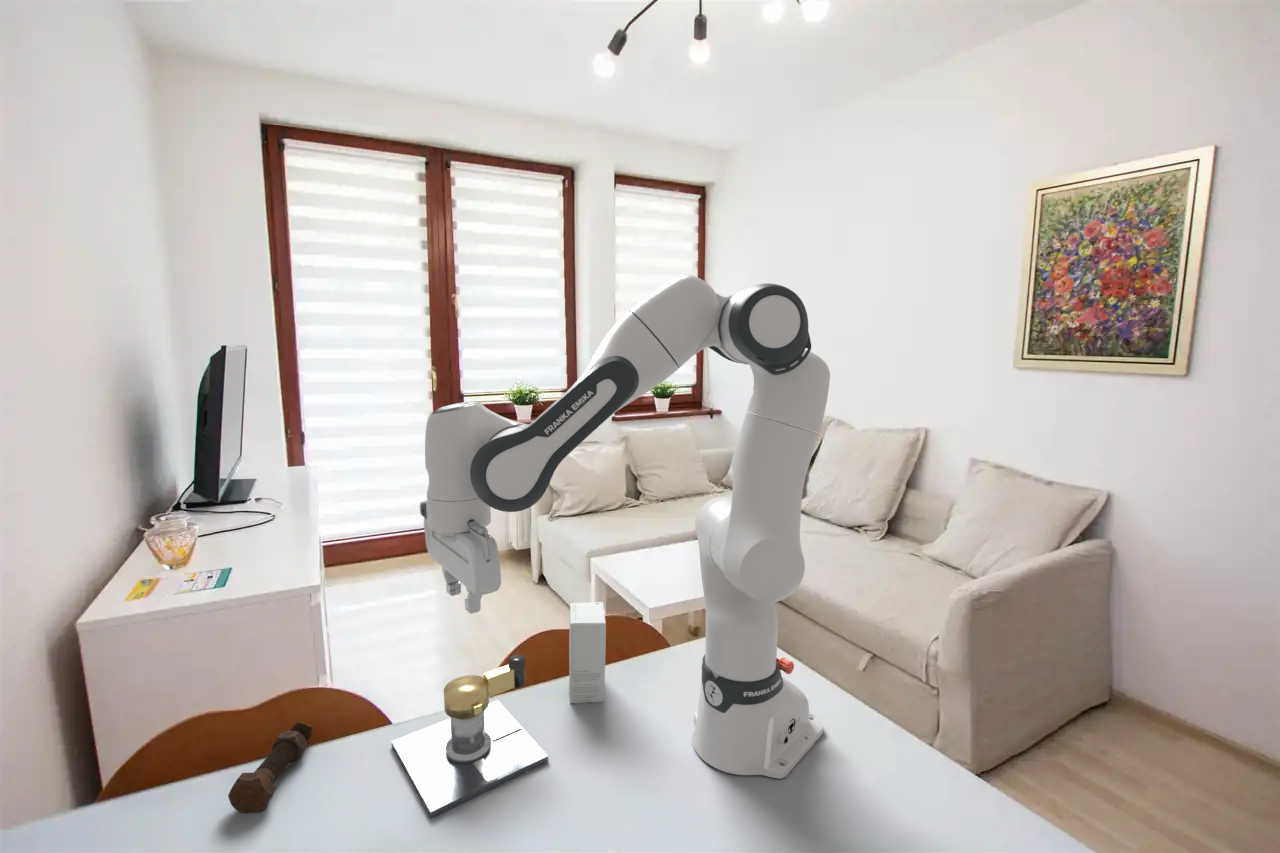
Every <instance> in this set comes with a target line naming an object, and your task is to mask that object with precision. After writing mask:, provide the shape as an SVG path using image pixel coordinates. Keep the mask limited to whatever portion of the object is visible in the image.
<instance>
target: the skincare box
mask: <svg viewBox="0 0 1280 853" xmlns="http://www.w3.org/2000/svg"><path fill="white" fill-rule="evenodd" d="M569 605H570V606H569V607H570V608H569V646H568V647H569V650H568V652H569V656H568V658H569V660H568V661H569V662H568V663H569V664H568V666H569V672H568V673H569V704H570V703H577V704H587V703H586V702H594V703H604V702H605V685H606V684H605V680H606V679H605V678H606V649H607V648H606V644H607V642H606V641H607V638H606V637H607V636H606V635H607V623H606V610H605V607H604V602H603V601H597V602H595V601H593V602H592V601H591V602H590V601H589V602H570V604H569ZM583 702H585V703H583Z"/></svg>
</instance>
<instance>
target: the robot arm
mask: <svg viewBox="0 0 1280 853" xmlns="http://www.w3.org/2000/svg"><path fill="white" fill-rule="evenodd" d="M808 317H809V316H808V313H807V309H806V306H805V304H804V302H803V300H802V299H801V297H800V296H799V295H798V294H797V293H795V292H794V291H793V290H792V289H790V288H788V287H787V286H783V285H781V284H776V283H759V284H756V285H753V286H751V287H746V288H744V289H742V290H738V291H736V292H735V293H734V294H731V295H728V296H724V295H721V294H719V293H716V291H715V290H714V289H713V287H712V286H711V285H710V284H708V282H706V281H705V280H704V279H701V278H700V277H698V276H696V275H692V274H683V275H679V276H677V277H675V278H673V279H671V280H670V281H668V282H667V283H664V284H663V285H661V286H660V287H658V288H656V289H655V290H653V291H652V292H651V293H649V294H648V295H646V296H645V297H644V298H642V299H641V300H640V301H638V302H637V303H636V304H635V305H634V306H633V307H631V308H630V309H629V310H628V311H627V312H626V313H624V314H623V316H621V318H619V319H618V320H617V321H616V322H615V323H614V324H613V325H612V326H611V328H610V329H609V330H608V332H606V334H605V335H604V336H603V338H602V339H601V340H600V342H599V343H598V344H597V346H596V347H595V348H594V351H593V354H592V356H591V357H590V359H589V362H588V363H587V365H586V367H585V368H584V370H583V372H582V373H581V374H580V376H579V378H578V379H577V380H576V381H575V382H574V384H572V386H570V388H568V390H567V391H565V392H564V393H563V394H562V395H561V396H560V397H559V398H558V399H556V400H555V401H554V402H553V403H552V404H550V406H549V407H547V408H546V409H545V410H543V412H542V413H541V414H540V415H538V416H537V417H536V418H535V419H534V420H533V421H532V422H530V423H529V424H528V423H523V422H519V421H517V420H514V419H513V420H512V419H509V418H508V417H504V416H502V415H500V414H498V413H496V412H494V411H492V410H491V409H489V408H487V407H486V406H485V405H484V404H483V403H481V402H478V401H462V402H456V403H452V404H448V405H444V406H441V407H439V408H438V409H436V410H435V411H433V412H432V413H430V415H429V417H428V418H427V421H426V426H425V427H426V428H425V429H426V430H425V436H424V438H425V439H424V459H425V460H424V461H425V463H424V464H425V469H426V471H427V474H428V487H427V491H426V500H423V501H420V502H419V514H420V516H422V517H423V529H424V537H425V544H426V545H425V546H426V550H427V552H428V555H429V557H430V558H431V559H432V560H433V561H435V562H436V563H437V564H438V565H440V566H441V570H442V574H443V578H444V581H445V587H446V593H447V594H448V595H449V596H450V597H454V596H458V595H461V592H462V585H463V586H464V587H466V588H465V590H466V592H467V598H465V599H464V605H465V606H464V608H465V610H466V611H467V612H468V613H469V614H475V613H476V614H477V613H478V612H480V611H481V608H482V607H481V606H482V605H481V604H482V603H481V600H482V597H483V595H488V594H492V593H494V592H497V591H499V589H500V588H501V586H502V585H501V584H502V575H501V574H502V572H501V564H500V562H501V561H500V554H499V547H498V543H497V541H496V539H495V538H494V537H493V536H492V535H491V534H489V530H488V528H487V526H489V525H490V524H491V523H492V512H491V510H492V509H495V510H497V511H500V512H505V513H506V512H507V513H516V512H521V511H525V510H527V509H529V508H532V507H533V506H534V505H536V504H537V503H538V502H539V501H540V500H541V498H542V497H543V496H544V494H545V493H546V492H547V489H548V486H549V485H550V482H551V480H552V478H553V476H554V473H555V472H556V470H557V468H558V466H559V465H560V463H562V461H563V460H564V459H565V458H566V457H567V456H568V455H569V454H571V452H573V451H574V450H575V449H576V448H577V447H579V445H580V444H582V442H583V441H585V439H587V438H588V437H589V436H590V435H591V434H593V432H595V430H597V429H598V428H599V427H600V426H601V425H602V424H603V423H604V422H606V421H607V420H608V419H609V418H610V417H611V416H613V415H614V414H615V413H616V412H618V411H620V410H621V409H622V408H624V407H626V406H627V405H629V404H631V403H632V402H633V401H635V400H637V399H639V398H640V397H642V396H644V395H645V394H647V393H649V392H650V391H651V390H654V388H656V387H657V386H659V385H660V384H661V383H663V382H664V381H666V380H667V379H669V377H671V376H672V375H673V374H675V372H677V371H678V370H679V369H680V368H681V367H682V366H684V364H685V363H687V362H688V361H689V360H690V359H691V358H692V357H693V356H694V355H696V354H698V353H699V352H701V351H703V350H705V349H706V348H709V349H710V350H712V351H714V352H715V353H717V354H718V356H721V357H722V358H724V359H726V360H728V361H729V362H733V363H736V364H742V365H749V367H750V369H751V371H752V376H753V386H752V387H753V389H752V391H753V393H752V394H751V398H750V400H749V403H748V406H747V409H746V412H745V415H744V418H743V421H742V422H743V423H742V424H741V427H740V428H741V429H740V432H739V435H738V438H737V441H736V444H735V448H734V452H733V454H732V458H731V469H732V489H731V490H732V491H731V496H727V495H725V496H724V495H721V496H717V497H714V498H712V499H709V500H707V501H706V502H705V503H704V504H703V505H702V506H701V508H700V509H699V511H698V512H697V515H696V518H695V525H694V526H695V532H696V537H697V542H698V551H699V562H700V563H699V564H700V574H701V581H702V582H701V583H702V589H703V591H702V592H703V597H704V606H705V645H704V647H705V648H704V649H705V650H704V653H705V654H704V655H703V657H702V662H701V685H700V692H699V699H698V707H697V709H696V710H695V711H694V717H693V719H694V724H695V726H694V727H695V728H694V731H693V734H692V744H693V745H692V746H693V748H694V750H695V752H696V754H697V755H698V756H699V757H700V758H701V759H702V760H703V761H704V762H705V763H706V764H708V766H709V765H710V766H711V767H713V768H715V769H716V770H719V771H722V772H724V773H727V774H732V775H737V776H765V777H769V778H773V779H784V778H786V777H787V776H788V775H789V773H791V771H792V770H793V769H794V768H795V766H796V765H798V763H799V762H800V761H801V760H802V759H803V757H804V756H805V755H806V754H807V753H808V751H810V749H811V748H812V747H813V746H814V745H815V743H816V742H817V741H818V740H819V739H820V737H821V736H822V735H823V734H824V726H823V724H822V722H821V721H820V719H819V718H818V717H817V716H816V715H815V714H814V713H812V712H811V711H810V706H809V701H808V698H807V696H806V695H805V693H804V692H803V691H802V690H801V689H800V688H799V687H798V686H796V685H795V684H794V683H792V682H791V681H790V680H788V679H786V678H785V677H784V676H782V672H781V671H783V672H784V673H786V674H787V675H790V674H792V673H793V671H794V669H795V663H794V662H793V661H792V660H789V659H787V658H786V657H781V658H778V657H777V654H778V653H777V652H778V651H777V650H778V633H779V632H778V630H779V619H778V612H777V610H776V607H775V604H774V603H778V602H780V601H783V600H785V599H788V598H789V597H790V596H791V595H793V593H795V592H796V590H797V589H798V588H799V586H800V585H801V583H802V581H803V578H804V575H805V568H806V566H805V565H806V564H805V558H804V555H803V554H804V553H803V550H802V545H801V518H802V517H801V516H802V515H801V514H802V504H803V503H802V502H803V501H802V500H803V493H804V486H805V483H806V482H805V481H806V477H807V473H808V470H809V467H810V464H811V460H812V456H813V453H814V451H815V447H816V444H817V440H818V438H819V433H820V430H821V427H822V425H823V421H824V417H825V412H826V408H827V402H828V396H829V390H830V381H831V372H830V368H829V366H828V364H827V362H825V361H824V359H822V358H821V357H820V356H818V354H815V353H813V352H812V350H811V349H812V342H811V337H810V332H809V318H808Z"/></svg>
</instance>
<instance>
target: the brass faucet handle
mask: <svg viewBox="0 0 1280 853" xmlns="http://www.w3.org/2000/svg"><path fill="white" fill-rule="evenodd" d="M525 684H526V657H525V656H524V655H522V654H514V655H511V656H509V658H508V664H506V665H504V666H500V667H498V668H495V669H492V670H489V671H487V672H484V673H483V676H480V675H475V674H469V675H463V676H459V677H457V678H454V679H452V680H451V681H450V680H449V682H448V683H447V684H446V685H445V686H444V688H443V700H444V701H443V702H444V704H443V705H444V712H445V714H446V715H447V716H448V717H449V718H450V717H452V718H457V719H465V718H471V717H474V716H477V715H479V714H481V713H482V712H483V711H485V710H486V709H487V707H488V705H489V703H490V698H492V697H494V696H497V695H499V694H501V693H504V692H507V691H510V690H512V689H517V688H522V687H524V685H525Z"/></svg>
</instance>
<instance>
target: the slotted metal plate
mask: <svg viewBox="0 0 1280 853" xmlns="http://www.w3.org/2000/svg"><path fill="white" fill-rule="evenodd" d="M391 748H392V750H393V752H394V754H395V755H396V758H397V759H398V760H399V763H400V764H401V766H402V768H403V770H404V772H405V773H406V775H407V777H408V779H409V781H410V783H411V785H412V786H413V788H414V791H415V792H416V794H417V796H418V797H419V799H420V801H421V803H422V805H423V806H424V808H425V810H426V812H427V814H428V815H429V816H428V817H430V819H433V818H435V817H437V816H439V815H441V814H444V813H445V812H447V811H449V810H451V809H454V808H456V807H458V806H460V805H462V804H464V803H466V802H469V801H470V800H473V799H475V798H476V797H478V796H481V795H482V794H485V793H487V792H489V791H491V790H493V789H495V788H497V787H499V786H501V785H503V784H505V783H507V782H509V781H508V780H510V779H512V778H514V777H516V778H518V777H520V776H521V774H522V775H524V774H526V773H527V772H526V771H528V772H530V771H532V770H534V769H536V768H538V767H541V766H542V765H544V763H545V764H547V763H548V762H549V755H548V754H547V753H546V752H545V751H544V749H543V748H542V747H541V746H540V745H539V744H538V742H536V740H535V739H534V738H533V737H532V736H531V734H529V733H528V731H527V730H526V729H525V728H524V727H523V726H522V725H521V724H520V723H519V722H518V721H517V719H515V717H514V716H513V715H512V714H511V713H510V712H509V710H508V709H507V708H505V707H504V705H503V704H502V703H501V702H500V701H499V699H496V700H494V701H492V702H489V705H488V707H487V709H486V710H485V711H483V712H482V713H481V714H479V715H477V716H474V717H471V718H465V719H457V718H452V717H450V716H449V718H447V719H444V720H442V721H440V722H437V723H435V724H432V725H430V726H427V727H425V728H422V729H420V730H417V731H415V732H412V733H409V734H407V735H405V736H402V737H399V738H397V739H394V740H391ZM546 762H547V763H546ZM533 768H534V769H533ZM531 769H532V770H531ZM529 770H530V771H529ZM525 772H526V773H525ZM523 773H524V774H523ZM519 775H520V776H519ZM517 776H518V777H517ZM514 779H515V778H514ZM512 780H513V779H512ZM506 781H507V782H506ZM510 781H511V780H510ZM504 782H505V783H504Z"/></svg>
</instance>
